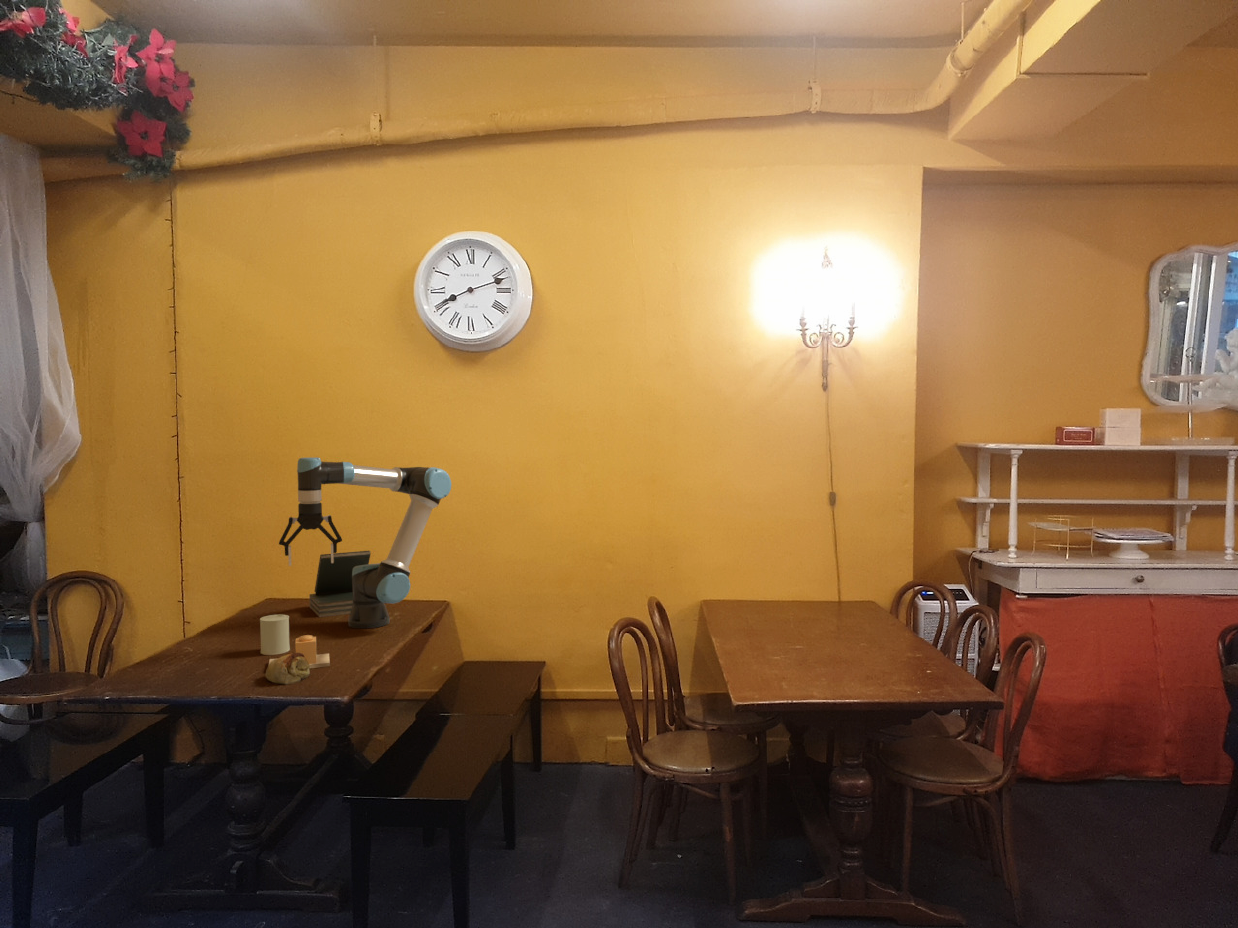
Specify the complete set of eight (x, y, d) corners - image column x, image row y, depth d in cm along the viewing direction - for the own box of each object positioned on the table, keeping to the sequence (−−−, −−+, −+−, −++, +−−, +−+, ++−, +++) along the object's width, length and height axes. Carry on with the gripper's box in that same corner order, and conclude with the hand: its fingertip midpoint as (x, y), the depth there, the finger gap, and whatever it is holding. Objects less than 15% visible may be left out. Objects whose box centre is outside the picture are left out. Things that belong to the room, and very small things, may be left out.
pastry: (304, 684, 236) (304, 657, 236) (260, 686, 234) (259, 659, 234) (314, 669, 250) (314, 644, 250) (272, 672, 248) (272, 646, 248)
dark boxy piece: (365, 602, 346) (364, 545, 345) (376, 611, 330) (375, 551, 328) (309, 608, 335) (308, 549, 333) (318, 618, 318) (317, 556, 317)
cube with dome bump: (316, 657, 258) (315, 633, 258) (316, 663, 253) (315, 638, 252) (296, 659, 256) (295, 635, 256) (295, 665, 251) (295, 639, 250)
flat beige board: (329, 656, 264) (328, 638, 263) (329, 666, 253) (329, 646, 253) (269, 662, 257) (269, 643, 257) (267, 672, 247) (267, 652, 247)
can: (296, 648, 274) (295, 614, 273) (276, 656, 265) (275, 620, 264) (274, 646, 277) (273, 612, 276) (254, 653, 268) (253, 618, 267)
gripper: (347, 500, 282) (349, 559, 283) (271, 502, 273) (272, 564, 275) (348, 502, 275) (349, 563, 276) (269, 504, 266) (271, 567, 267)
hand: (311, 563), depth 275 cm, fingers open, 13 cm apart
